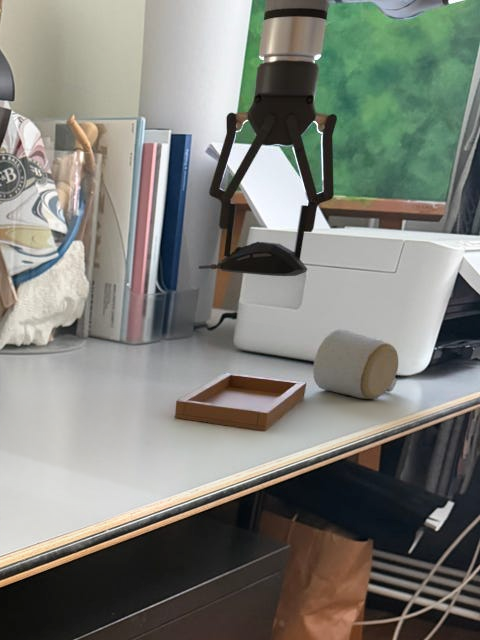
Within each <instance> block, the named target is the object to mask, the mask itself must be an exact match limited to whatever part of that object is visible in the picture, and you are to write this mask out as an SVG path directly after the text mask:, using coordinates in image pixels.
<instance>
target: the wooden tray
mask: <svg viewBox="0 0 480 640" xmlns="http://www.w3.org/2000/svg"><path fill="white" fill-rule="evenodd" d="M306 388H307V382H304V381H303V382H302V381H296V380H286V379H279V378H270V377H263V376H254V375H247V374H246V375H245V374H238V373H230V372H225V373H223V374H221V375H219V376H217V377H215V378H214V379H212V380H210V381H209V382H207V383H205V384H204V385H201V386H199V387H198V388H196V389H194V390H193V391H191V392H189V393H187V394H186V395H184V396H182V397H180V398H179V399H177V400H176V402H175V411H174V418H175V419H178V420H179V419H180V420H185V421H192V422H200V421H203V422H202V423H206V422H208V423H207V424H214V425H222V426H228V427H235V428H241V429H248V430H256V431H263V432H266V431H267V430H268V429H269V428H270V427H272V426H273V425H274V424H276V422H278V421H279V420H280V419H281V418H283V417H284V416H285V415H286V414H288V412H289V411H291V410H292V409H293V408H294V407H295V406H297V405H298V404H299V403H300V402H302V401H303V400H304V399H305V393H306Z"/></svg>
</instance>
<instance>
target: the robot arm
mask: <svg viewBox="0 0 480 640" xmlns="http://www.w3.org/2000/svg"><path fill="white" fill-rule="evenodd" d="M465 1H466V0H265V8H264V14H263V20H262V28H261V36H260V42H259V51H258V57H259V59H260V60H262V63H259V65H258V66H257V67H256V74H255V83H254V90H253V98H252V103H251V106H250V107H249V108H248V111H243V112H236V113H235V112H229V113H227V115H226V120H225V121H226V122H225V123H226V134H225V137H224V140H223V144H222V147H221V149H220V153H219V157H218V161H217V164H216V168H215V171H214V174H213V177H212V180H211V184H210V187H209V191H208V194H209V195H210V197H212V198H214V199H216V200H218V201H220V205H221V206H220V215H219V221H218V225H219V226H218V227H219V229H220V230H221V229H222V230H226V237H225V244H224V253H223V257H227V256H230V254H231V248H232V241H233V233H234V226H235V225H234V224H235V217H236V211H237V202H232V199H233V197H234V195H235V194H236V191H237V190H238V188H239V187H240V185H241V183H242V181H243V179H244V178H245V176H246V174H247V173H248V171H249V169H250V167H251V165H252V164H253V162H254V160H255V158H256V156H257V155H258V153H259V151H260V149H261V147H262V146H264V147H272V146H276V145H277V146H281V147H291V149H292V152H293V154H294V158H295V162H296V165H297V169H298V172H299V175H300V179H301V183H302V187H303V190H304V193H305V197H306V200H307V202H306V203H307V204H301V205H300V209H299V210H300V211H299V216H298V224H297V230H296V235H295V236H296V237H295V243H294V250H293V252H294V253H295V256H296V257H297V258H298V259H299V260H301V255H302V249H303V244H304V243H303V240H304V235H305V233H312V232H313V230H314V228H315V222H316V215H317V209H318V206H319V205H320V204H322V203H326V202H328V201H331V200H332V199H333V198H334V193H335V191H334V152H333V151H334V149H333V146H334V145H333V134H334V131H335V128H336V124H337V121H338V116H337V114H334V113H331V114H326V113H321V112H317V109H316V107H315V97H316V92H317V84H318V78H319V72H320V66H319V64H318V63H317V62H316V61H317V60H319V59H320V58H321V57H322V52H323V47H324V46H323V45H324V39H325V34H326V33H325V32H326V26H327V18H328V11H329V7H330V4H343V3H344V4H345V3H373V4H374V5H376V6H377V8H378V9H379V10H380V12H381V13H382V14H384V15H385V16H386V17H387V18H390V19H393V20H401V21H403V20H412V19H414V18H416V17H419V16H420V15H422V14H423V13H424V12H426V11H428V10H432V9H437V8H441V7H444V6H447V5H452V4H456V3H459V2H465ZM246 122H248V123H249V125H250V127H251V129H252V131H253V133H254V135H255V137H254V139H253V141H252V142H251V145H250V146H249V149H248V150H247V152H246V154H245V155H244V157H243V159H242V161H241V163H240V164H239V166H238V167H237V170H236V171H235V173H234V175H233V176H232V178H231V180H230V182H229V184H228V186H227V188H226V189H225V190H224V189H222V188H221V186H222V183H223V180H224V176H225V173H226V170H227V166H228V163H229V160H230V157H231V153H232V151H233V147H234V144H235V141H236V138H237V133H238V132H241V130H242V129H243V126H244V124H245V123H246ZM313 123H315V124H316V130H317V132H318V133H320V134H321V137H320V150H321V152H320V153H321V186H322V187H321V188H322V191H320V192H317V188H316V186H315V182H314V178H313V174H312V171H311V168H310V164H309V159H308V157H307V153H306V149H305V144H304V141H303V138H302V136H303V135H304V134H305V132H306V131H307V130H308V129H309V128H310V127H311V125H312V124H313Z"/></svg>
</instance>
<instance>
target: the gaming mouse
mask: <svg viewBox="0 0 480 640" xmlns="http://www.w3.org/2000/svg"><path fill="white" fill-rule="evenodd" d="M198 269H200V270H203V269H204V270H207V269H211V270H221V271H222V272H228V273H237V274H249V275H260V276H271V277H296V276H299V275H303V274H304V273H306V272H307V271H308V268H307V266H306V265H305V264H304V262H303V261H302V260H301V259H300V260H299V259H298V258H297V257H296V256H295V253H294V250H291V249H290V248H288V247H286V246H284V245H282V244H281V243H275V242H266V241H256V242H252V243H250V244H247V245H244V246H238V247H236V248H235V249H234V250H233V251H232V252H230V256H225V257H224V258H223V259H222V260H220V261H219V262H218V264H216V263H211V264H209V265H199V266H198Z"/></svg>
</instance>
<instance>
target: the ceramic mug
mask: <svg viewBox="0 0 480 640" xmlns="http://www.w3.org/2000/svg"><path fill="white" fill-rule="evenodd" d="M398 369H399V356H398V351H397V349H396V348H395V346H393V345H392V344H390V343H388V342H386V341H384V340H382V339H378V338H375V337H370V336H367V335H365V334H361V333H357V332H354V331H350V330H347V329H343V328H341V329H339V328H338V329H336V330H333V331H332V332H330V333H329V334H328V335H326V337H325V338H324V339H323V341H322V342H321V344H320V345H319V347H318V349H317V351H316V354H315V357H314V360H313V369H312V374H313V380H314V382H315V384H316V385H317V387H318V388H320V389H321V390H325V391H329V392H333V393H337V394H342V395H346V396H351V397H354V398H358V399H363V400H364V399H365V400H374V399H377V398H379V397H380V396H382V395H384V394H385V393H386V392H388V393H391V392H392V391H393V390H394V389H395V387H396V384H397V382H398V379H397V378H396V375H397V373H398Z"/></svg>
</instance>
